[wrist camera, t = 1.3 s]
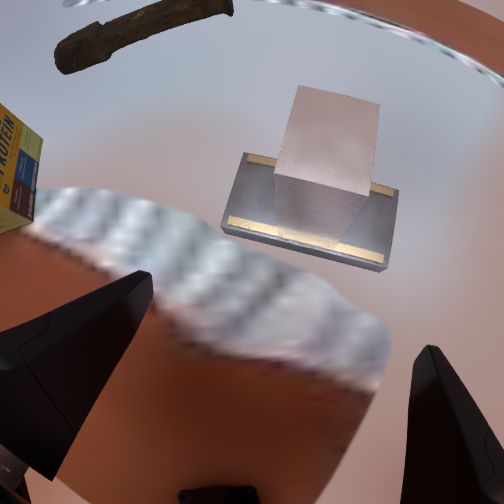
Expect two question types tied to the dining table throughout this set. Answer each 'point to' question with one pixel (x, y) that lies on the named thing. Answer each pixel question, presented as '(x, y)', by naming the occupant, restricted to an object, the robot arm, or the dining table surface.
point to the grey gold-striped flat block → (265, 231)
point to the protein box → (17, 171)
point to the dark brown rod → (131, 31)
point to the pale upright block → (324, 164)
